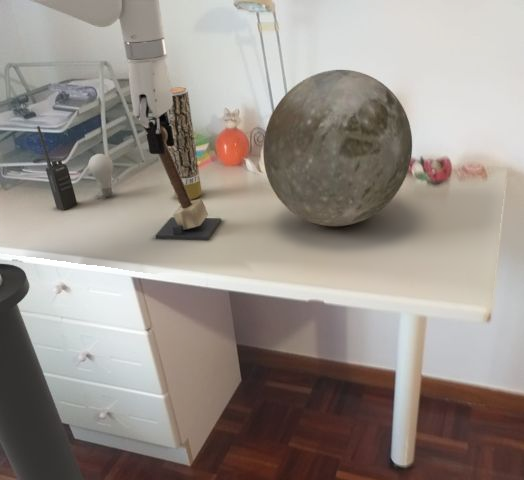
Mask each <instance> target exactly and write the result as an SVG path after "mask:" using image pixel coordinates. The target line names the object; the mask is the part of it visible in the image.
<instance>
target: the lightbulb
mask: <svg viewBox="0 0 524 480" xmlns="http://www.w3.org/2000/svg"><path fill="white" fill-rule="evenodd" d="M88 171H89V172H90V174H91V175H92V177H93V178H94V179H95V181H96V182H97V184H98V186H99V188H100V191H101V194H102V196H103V197H106V198H110V197H111V196H112V195H113V188H112V186H113V183H112V176H113V173H114V163H113V161H112V159H111V157H109V156H108V155H106V154H104V153H95V154H94V155H92V156H91V157H90V159H89V161H88Z"/></svg>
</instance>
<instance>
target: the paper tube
mask: <svg viewBox="0 0 524 480" xmlns="http://www.w3.org/2000/svg"><path fill="white" fill-rule="evenodd" d="M171 91H172V100H173V105H172V107H171V110H170V111H171V112H170V113H171V114H170V117H171V121H172V124H171V125H169V126H172V132H173V139H174V145H173V146H168V148H169V150H170V153H171V155H172V158H173V160H174V162H175V165H176V167H177V169H178V172H179V174H180V176H181V179H182V181H183V183H184V186H185V188H186V190H187V193H188V195H189V197H190V200H191V201H194V200H197V199H199V198H201V196H202V193H203V191H202V184H201V176H200V169H199V163H198V153H197V148H196V139H195V134H194V126H193V120H192V119H193V118H192V112H191V111H192V110H191V106H190V98H189V91H188V87H184V86H175V87H171ZM174 196H175V198H176V199H177V200H178V198H177V195H176V193H175V192H174Z"/></svg>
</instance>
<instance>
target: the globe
mask: <svg viewBox="0 0 524 480" xmlns="http://www.w3.org/2000/svg"><path fill="white" fill-rule="evenodd" d="M262 152H263V153H262V154H263V166H264V170H265V173H266V177H267V180H268V182H269V185H270V187H271V189H272V190H273V192H274V194H275V196H276V197H277V198H278V199H279V201H280V202H281V203H282V204H283V205H284V206H285V207H286V208H287V209H288V210H289V211H290V212H292V214H294V215H296V216H297V217H299V218H301V219H303V220H305V221H307V222H308V223H312V224H314V225H319V226H325V227H345V226H350V225H354V224H357V223H360V222H363V221H365V220H367V219H369V218H371V217H373V216H374V215H376V214H377V213H379V212H380V211H382V210H383V209H384V208H385V207H386V206H387V205H388V204H389V203H391V201H392V200H393V199H394V197H395V196H396V195H397V194H398V192H399V190H400V189H401V187H402V186H403V183H404V181H405V180H406V177H407V174H408V172H409V169H410V165H411V161H412V156H413V155H412V153H413V135H412V129H411V124H410V120H409V117H408V115H407V113H406V110H405V108H404V107H403V105H402V103H401V101H400V100H399V98H398V97H397V96H396V95H395V93H394V92H393V91H391V89H390V88H389V87H388V86H387V85H385V84H384V83H383V82H382V81H379V80H378V79H376V78H375V77H374V76H371V75H369V74H366V73H363V72H360V71H356V70H352V69H351V70H350V69H331V70H326V71H321V72H318V73H316V74H312V75H311V76H309V77H306V78H305V79H303V80H302V81H300V82H298V83H297V84H296V85H294V86H292V87H291V88H290V89H289V90H288V91H287V92H286V94H285V95H284V96H283V97H282V98H281V99H280V101H279V102H278V103H277V104H276V106H275V108H274V110H273V111H272V113H271V115H270V118H269V120H268V122H267V126H266V129H265V133H264V138H263V147H262Z"/></svg>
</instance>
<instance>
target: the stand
mask: <svg viewBox="0 0 524 480" xmlns="http://www.w3.org/2000/svg"><path fill="white" fill-rule="evenodd" d="M221 222H222V218H221V217H206V218H205V220H204V221H203V222H202V224H201V225H200V226H197V227H193V228H189V229H186V230H183V226H182V225H177V223H176V220H175V218H174V216H171V217H170V218H169V219H168V220H167V222H166V223H164V225H163V226H162V227H161V228H160V229H159V230H158V232H156V234H155V239H159V240H160V239H161V240H187V241H188V240H190V241H208V240H209V239H210V237H212V235H213V233H214V232H215V231H216V229H217V228H218V226H219V225H220V224H221Z"/></svg>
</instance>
